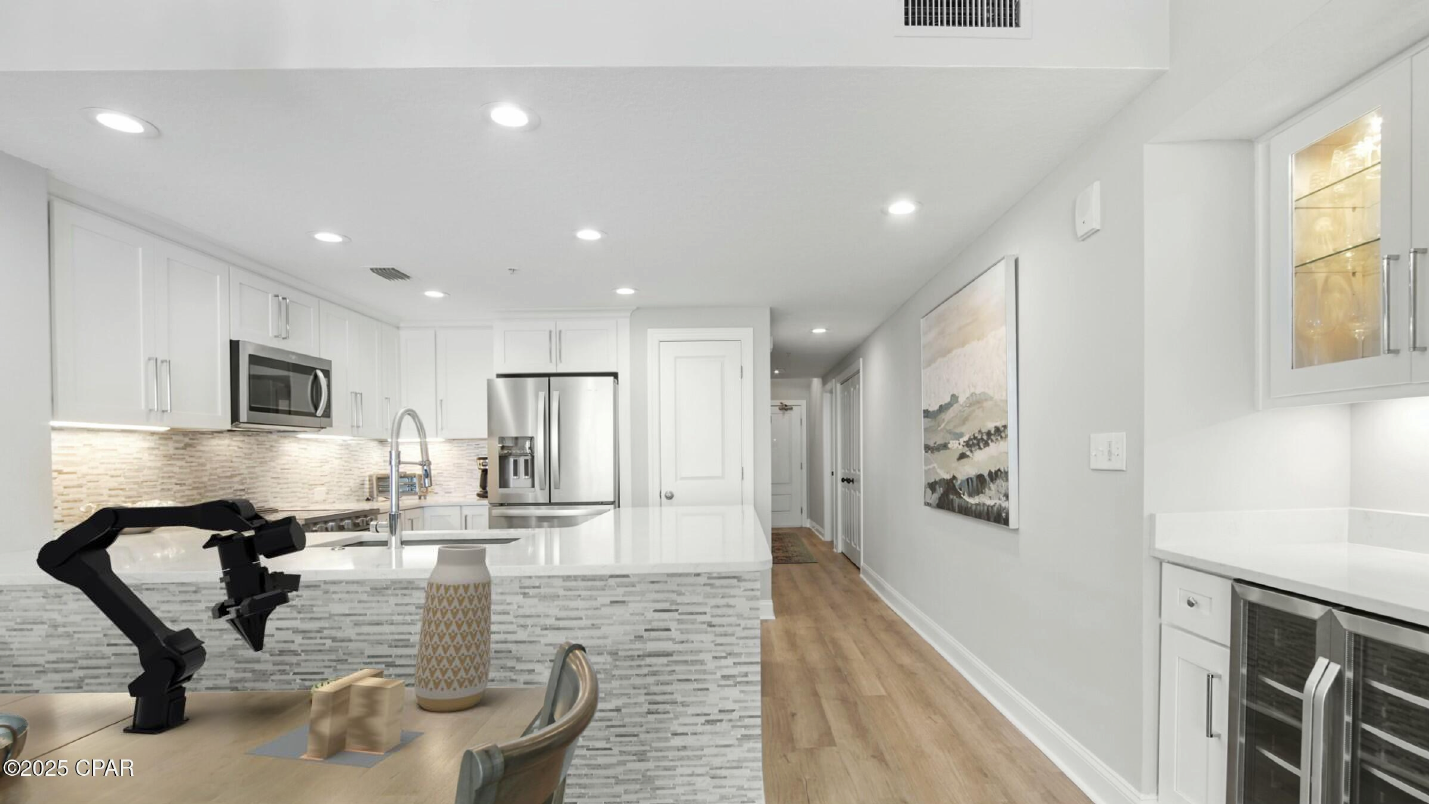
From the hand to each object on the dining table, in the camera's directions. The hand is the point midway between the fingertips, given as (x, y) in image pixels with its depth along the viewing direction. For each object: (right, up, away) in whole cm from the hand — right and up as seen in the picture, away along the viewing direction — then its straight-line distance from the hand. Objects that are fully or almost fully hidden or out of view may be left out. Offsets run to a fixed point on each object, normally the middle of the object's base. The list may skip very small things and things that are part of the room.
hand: (258, 651), depth 116 cm
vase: (+30, -15, +10) cm, 35 cm away
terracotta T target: (+24, -12, -11) cm, 29 cm away
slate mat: (+20, -12, -10) cm, 26 cm away
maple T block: (+25, -11, -11) cm, 29 cm away
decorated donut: (+8, -14, +11) cm, 20 cm away
